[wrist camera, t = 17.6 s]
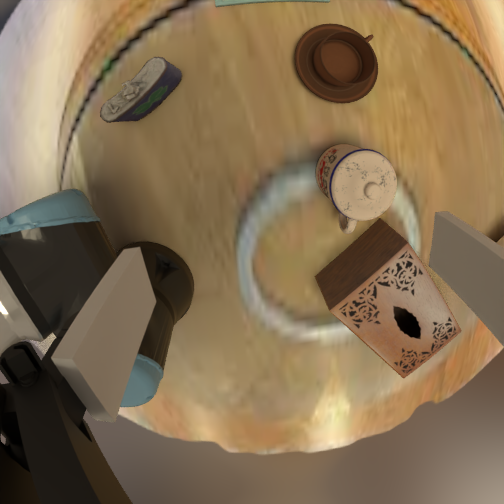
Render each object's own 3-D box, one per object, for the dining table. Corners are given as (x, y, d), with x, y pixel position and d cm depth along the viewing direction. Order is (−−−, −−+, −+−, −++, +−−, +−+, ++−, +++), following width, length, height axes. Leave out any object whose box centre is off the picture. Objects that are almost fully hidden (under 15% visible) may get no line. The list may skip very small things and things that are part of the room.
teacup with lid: (317, 137, 40) (344, 146, 30) (375, 147, 41) (414, 160, 30) (306, 216, 45) (326, 249, 35) (361, 222, 46) (392, 254, 35)
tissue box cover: (437, 302, 54) (461, 331, 45) (386, 345, 58) (403, 378, 49) (379, 217, 46) (408, 242, 37) (314, 275, 50) (329, 310, 41)
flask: (174, 64, 35) (152, 48, 24) (188, 79, 36) (170, 67, 26) (123, 112, 37) (87, 114, 27) (136, 127, 38) (103, 133, 28)
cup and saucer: (312, 13, 32) (323, 0, 27) (383, 54, 35) (403, 47, 29) (278, 79, 37) (285, 73, 31) (353, 117, 39) (370, 119, 34)
